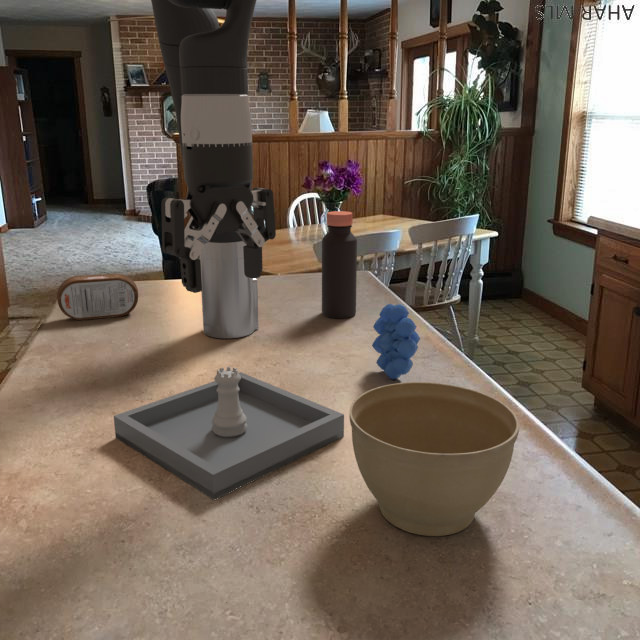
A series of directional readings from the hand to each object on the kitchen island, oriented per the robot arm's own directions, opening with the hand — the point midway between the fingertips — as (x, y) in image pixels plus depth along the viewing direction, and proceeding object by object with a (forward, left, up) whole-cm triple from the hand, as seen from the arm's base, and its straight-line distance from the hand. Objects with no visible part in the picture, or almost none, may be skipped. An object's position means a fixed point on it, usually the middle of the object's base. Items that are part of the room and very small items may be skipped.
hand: (224, 284), depth 78 cm
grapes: (-30, +3, -20) cm, 36 cm away
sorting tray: (0, 0, -20) cm, 20 cm away
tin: (-14, -58, -20) cm, 63 cm away
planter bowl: (-4, +27, -20) cm, 34 cm away
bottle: (-48, -26, -20) cm, 58 cm away
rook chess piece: (0, 0, -19) cm, 19 cm away
